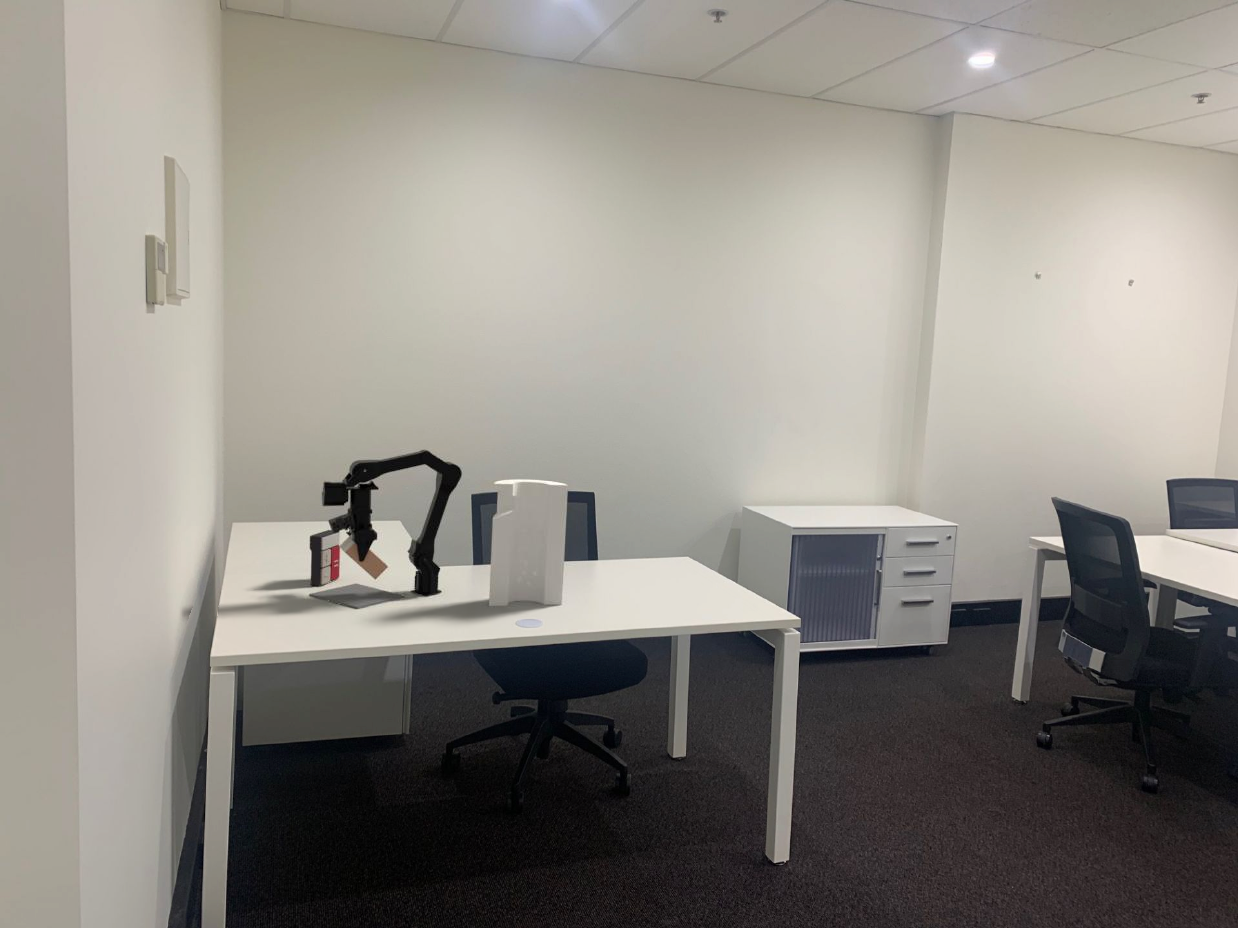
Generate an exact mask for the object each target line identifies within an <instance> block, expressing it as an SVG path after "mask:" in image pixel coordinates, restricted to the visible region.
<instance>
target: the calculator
mask: <svg viewBox="0 0 1238 928" xmlns="http://www.w3.org/2000/svg"><path fill="white" fill-rule="evenodd" d="M340 533H341V532H340V531H339V532H337V533H333V531H332V530H331V529H328V530H324V531H321V532H317V533H314V534H312V535H310V536H309V550H310V551H311V558H310V559H311V560H310V586H312V585H314V587H322V586H324V585H326V584H325V583H327V584H329V583H331V582H334V581H335V580H338V579H339V578H340V563H341V562H340V559H341V556H340V555H341V553H340V552H341V548H340V542H341V541H340V539H341V536H340V535H341V534H340ZM333 580H334V581H333ZM330 581H331V582H330ZM328 582H329V583H328ZM321 585H322V586H321Z"/></svg>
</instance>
